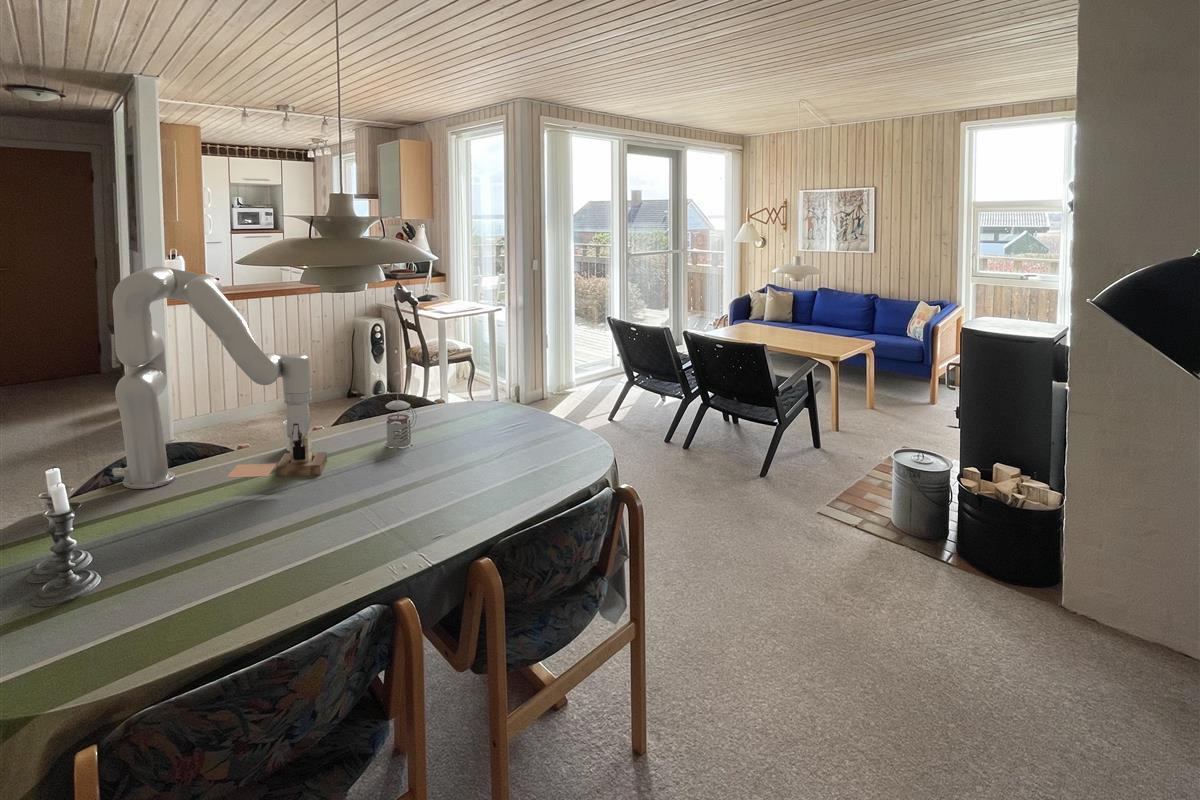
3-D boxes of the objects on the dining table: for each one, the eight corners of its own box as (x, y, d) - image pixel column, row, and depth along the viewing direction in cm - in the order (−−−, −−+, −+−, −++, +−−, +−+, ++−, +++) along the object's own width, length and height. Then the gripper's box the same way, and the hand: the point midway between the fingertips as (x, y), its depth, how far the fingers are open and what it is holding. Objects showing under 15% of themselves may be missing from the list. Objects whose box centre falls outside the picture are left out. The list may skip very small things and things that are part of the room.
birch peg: (291, 471, 212) (289, 438, 210) (294, 465, 217) (292, 433, 215) (309, 470, 213) (307, 438, 211) (312, 465, 218) (310, 433, 216)
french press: (378, 444, 244) (375, 371, 237) (407, 437, 252) (405, 367, 246) (395, 451, 237) (392, 376, 231) (424, 443, 246) (422, 372, 240)
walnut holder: (277, 479, 209) (276, 466, 208) (285, 465, 220) (284, 453, 219) (321, 478, 211) (320, 465, 210) (327, 464, 222) (326, 452, 222)
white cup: (316, 450, 235) (314, 421, 232) (294, 456, 228) (292, 426, 226) (301, 446, 239) (299, 416, 236) (279, 451, 232) (277, 422, 230)
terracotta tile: (226, 480, 206) (226, 477, 206) (237, 467, 217) (237, 464, 217) (268, 479, 209) (267, 476, 208) (276, 466, 219) (276, 463, 219)
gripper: (290, 390, 217) (293, 447, 222) (277, 404, 201) (281, 466, 205) (316, 390, 219) (319, 447, 223) (306, 404, 203) (309, 465, 207)
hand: (301, 455), depth 214 cm, fingers closed on birch peg, 4 cm apart
